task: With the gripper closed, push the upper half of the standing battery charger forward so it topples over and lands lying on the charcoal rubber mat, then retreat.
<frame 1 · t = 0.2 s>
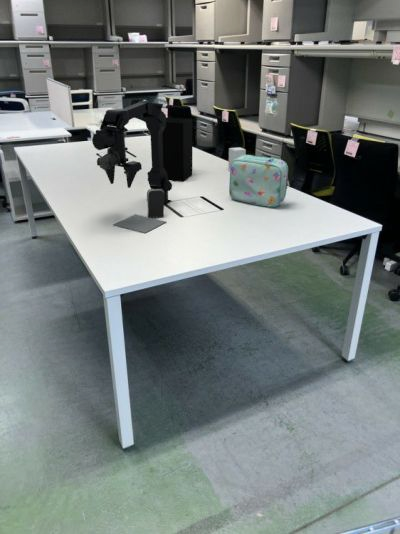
hand: (120, 185, 171), 14 cm above the table, fingers open, 9 cm apart
mat: (140, 223, 174), on the table
supplement box: (236, 171, 253), on the table
video game console: (175, 178, 238), on the table
lunch box: (257, 203, 200), on the table
battery charger: (155, 216, 182), on the table, touching mat
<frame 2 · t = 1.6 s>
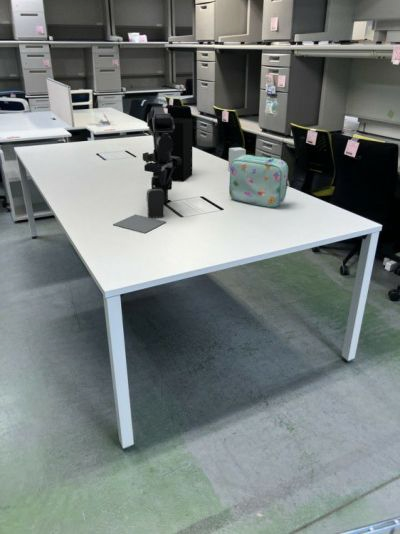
hand: (164, 184, 182), 12 cm above the table, fingers closed
nothing on the table moved.
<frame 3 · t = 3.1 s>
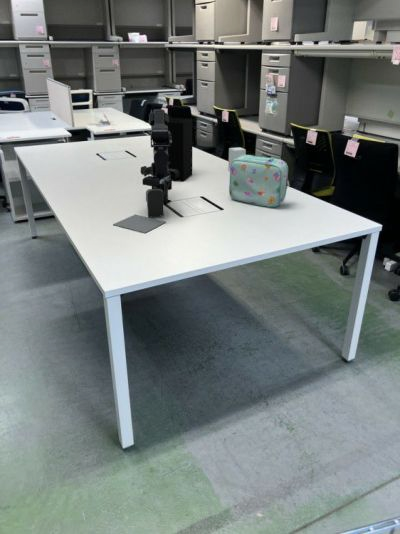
hand: (162, 197, 183), 7 cm above the table, fingers closed
battery charger: (155, 216, 182), on the table, touching gripper, mat
everything else where it was.
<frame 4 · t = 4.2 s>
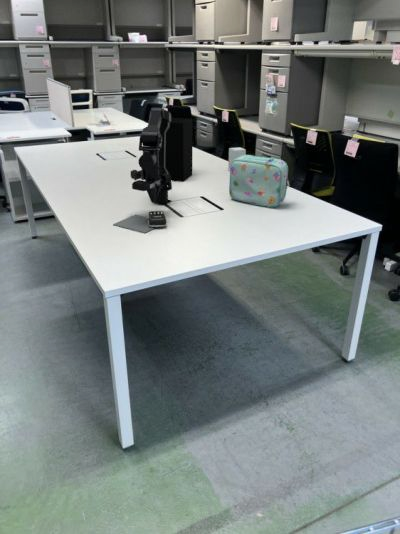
hand: (152, 202, 178), 7 cm above the table, fingers closed
battery charger: (156, 213, 179), point 2 cm above the table, touching mat
everything else where it was.
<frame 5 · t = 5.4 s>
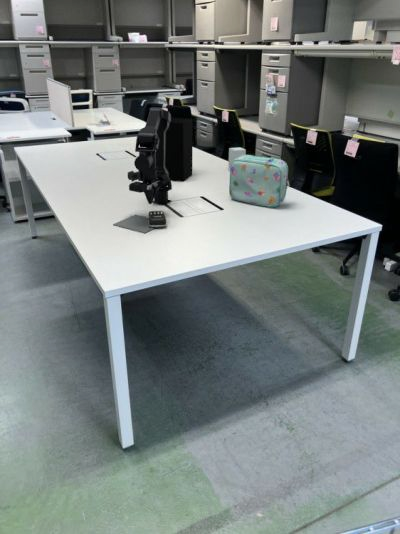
hand: (150, 203, 177), 6 cm above the table, fingers closed
nothing on the table moved.
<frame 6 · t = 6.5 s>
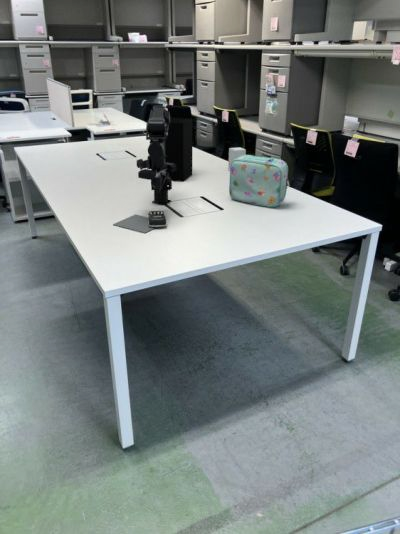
hand: (158, 191, 179), 10 cm above the table, fingers closed
nothing on the table moved.
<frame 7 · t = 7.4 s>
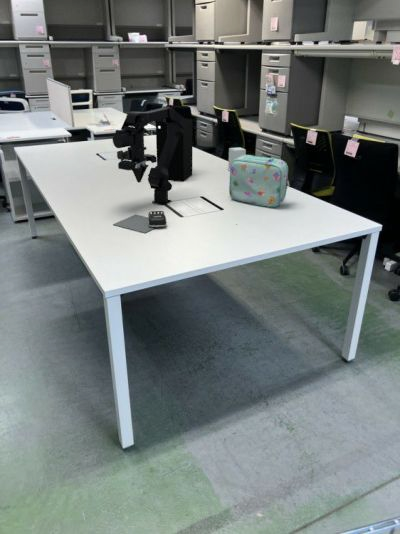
hand: (138, 182, 184), 12 cm above the table, fingers closed
nothing on the table moved.
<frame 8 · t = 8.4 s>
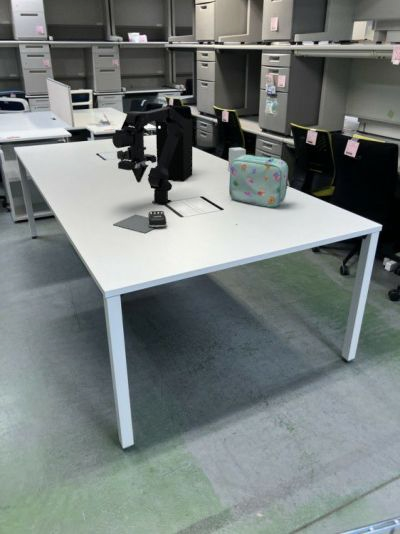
hand: (138, 182, 185), 12 cm above the table, fingers closed
nothing on the table moved.
at the end: battery charger tilted 90°; battery charger inside the target area (4.3 cm from its centre), point 2.3 cm above the table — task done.
